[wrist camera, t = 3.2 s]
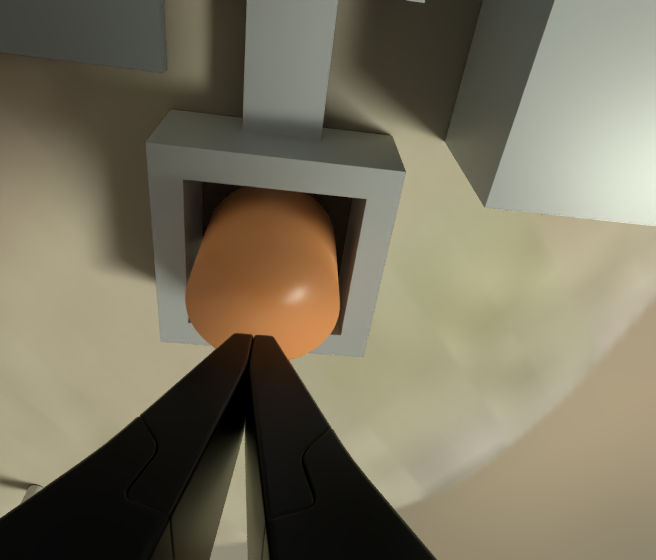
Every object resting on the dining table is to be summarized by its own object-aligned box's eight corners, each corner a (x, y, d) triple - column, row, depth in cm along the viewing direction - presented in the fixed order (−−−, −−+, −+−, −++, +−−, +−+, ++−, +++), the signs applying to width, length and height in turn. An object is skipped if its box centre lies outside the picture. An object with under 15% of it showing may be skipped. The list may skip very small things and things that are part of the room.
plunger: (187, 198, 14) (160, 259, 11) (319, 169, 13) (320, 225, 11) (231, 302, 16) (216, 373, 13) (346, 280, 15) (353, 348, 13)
